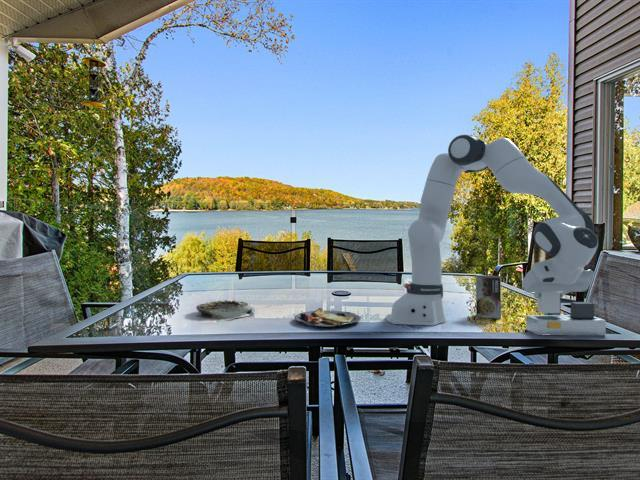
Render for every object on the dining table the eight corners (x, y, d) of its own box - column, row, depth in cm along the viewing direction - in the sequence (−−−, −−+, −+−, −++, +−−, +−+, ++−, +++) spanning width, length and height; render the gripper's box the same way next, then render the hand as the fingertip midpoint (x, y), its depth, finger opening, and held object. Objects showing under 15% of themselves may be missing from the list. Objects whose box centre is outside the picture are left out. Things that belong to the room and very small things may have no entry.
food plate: (282, 321, 161) (282, 312, 160) (323, 312, 178) (323, 304, 178) (332, 334, 144) (332, 324, 143) (372, 323, 161) (372, 314, 161)
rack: (538, 335, 138) (538, 305, 138) (526, 329, 147) (526, 300, 146) (606, 335, 138) (606, 305, 138) (590, 329, 146) (590, 300, 146)
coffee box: (501, 316, 169) (501, 275, 168) (500, 319, 163) (501, 277, 162) (477, 314, 173) (477, 274, 172) (475, 317, 167) (475, 276, 166)
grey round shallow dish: (206, 325, 157) (206, 312, 157) (176, 315, 178) (176, 303, 177) (268, 314, 176) (268, 302, 176) (235, 306, 196) (234, 295, 196)
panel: (541, 313, 141) (541, 286, 141) (537, 311, 144) (537, 284, 144) (559, 312, 141) (559, 285, 140) (554, 311, 144) (555, 284, 143)
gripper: (592, 262, 135) (574, 288, 145) (528, 263, 135) (514, 289, 145) (601, 278, 130) (582, 303, 140) (535, 278, 131) (520, 304, 141)
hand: (547, 296), depth 143 cm, fingers closed on panel, 6 cm apart
